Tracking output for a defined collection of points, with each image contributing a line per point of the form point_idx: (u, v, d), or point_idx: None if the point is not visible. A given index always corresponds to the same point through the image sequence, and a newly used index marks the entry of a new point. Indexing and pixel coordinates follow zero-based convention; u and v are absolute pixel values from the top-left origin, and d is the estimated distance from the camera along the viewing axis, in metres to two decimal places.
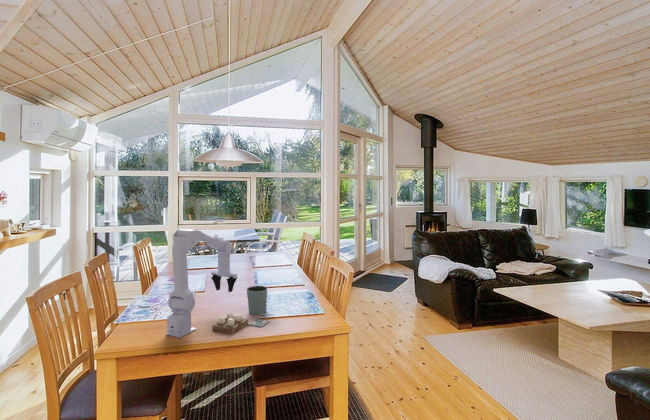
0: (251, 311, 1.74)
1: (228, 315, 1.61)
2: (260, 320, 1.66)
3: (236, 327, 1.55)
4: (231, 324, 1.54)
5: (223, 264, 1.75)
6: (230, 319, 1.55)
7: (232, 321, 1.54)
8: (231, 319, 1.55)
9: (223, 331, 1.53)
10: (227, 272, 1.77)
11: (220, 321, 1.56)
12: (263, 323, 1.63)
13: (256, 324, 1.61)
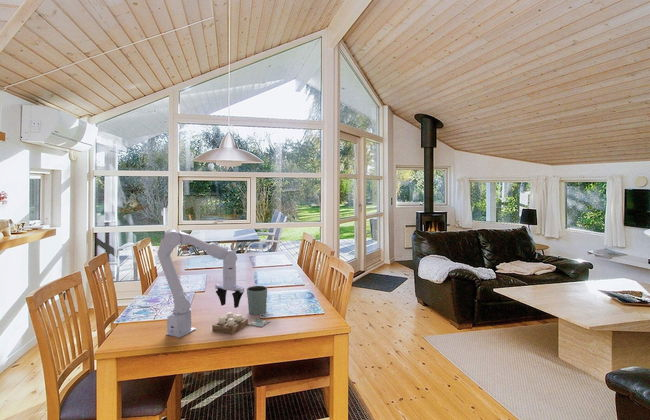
0: (251, 311, 1.74)
1: (228, 315, 1.61)
2: (260, 320, 1.66)
3: (236, 327, 1.55)
4: (231, 324, 1.54)
5: (224, 277, 1.58)
6: (230, 319, 1.55)
7: (232, 321, 1.54)
8: (231, 319, 1.55)
9: (223, 331, 1.53)
10: (233, 286, 1.59)
11: (220, 321, 1.56)
12: (263, 323, 1.63)
13: (256, 324, 1.61)
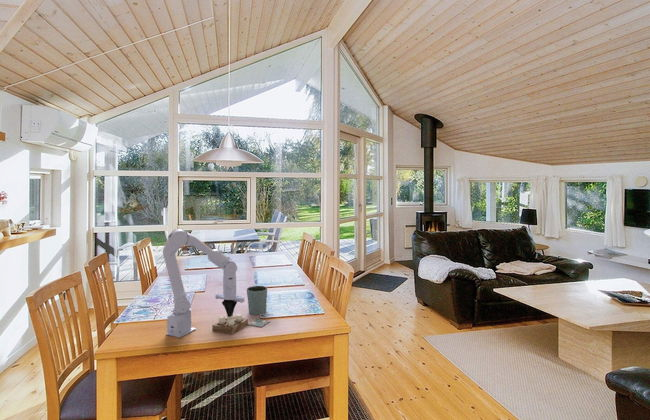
0: (251, 311, 1.74)
1: (228, 317, 1.61)
2: (260, 320, 1.66)
3: (236, 327, 1.55)
4: (231, 324, 1.54)
5: (224, 287, 1.59)
6: (230, 319, 1.55)
7: (232, 321, 1.54)
8: (231, 319, 1.55)
9: (223, 331, 1.53)
10: (233, 296, 1.60)
11: (220, 321, 1.56)
12: (263, 323, 1.63)
13: (256, 324, 1.61)
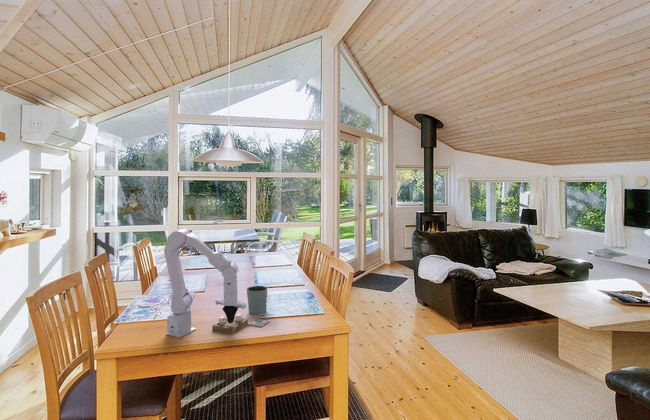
0: (251, 311, 1.74)
1: None
2: (260, 320, 1.66)
3: (236, 327, 1.55)
4: None
5: (224, 292, 1.52)
6: None
7: (232, 324, 1.54)
8: None
9: (223, 331, 1.53)
10: (234, 301, 1.53)
11: (220, 321, 1.56)
12: (263, 323, 1.63)
13: (256, 324, 1.61)
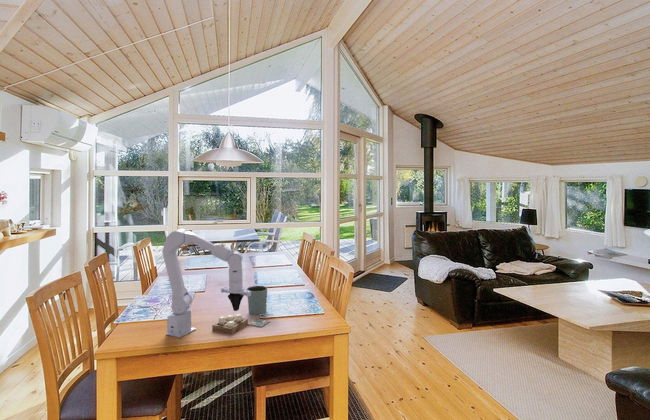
0: (251, 311, 1.74)
1: (228, 318, 1.61)
2: (260, 320, 1.66)
3: (236, 327, 1.55)
4: None
5: (229, 279, 1.54)
6: (230, 322, 1.55)
7: (232, 324, 1.54)
8: (231, 322, 1.55)
9: (223, 331, 1.53)
10: (239, 289, 1.54)
11: (220, 321, 1.56)
12: (263, 323, 1.63)
13: (256, 324, 1.61)
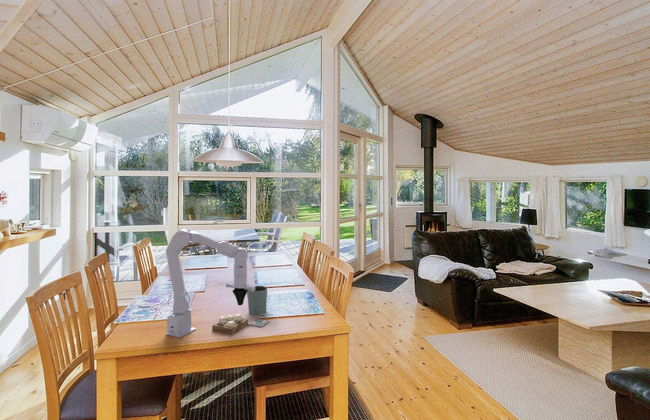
0: (251, 311, 1.74)
1: (228, 318, 1.61)
2: (260, 320, 1.66)
3: (236, 327, 1.55)
4: None
5: (235, 275, 1.58)
6: (230, 322, 1.55)
7: (232, 324, 1.54)
8: (231, 322, 1.55)
9: (223, 331, 1.53)
10: (244, 284, 1.58)
11: (220, 321, 1.56)
12: (263, 323, 1.63)
13: (256, 324, 1.61)
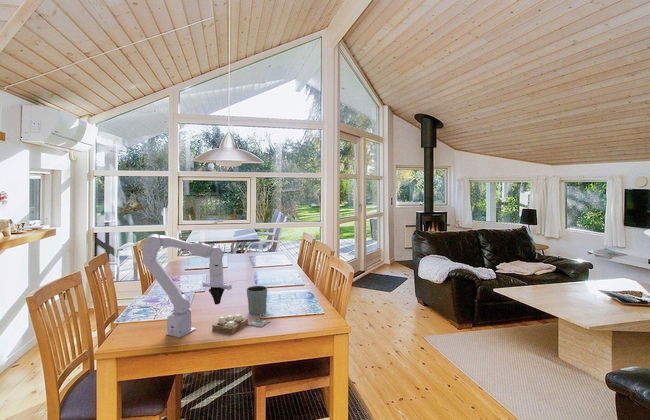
0: (251, 311, 1.74)
1: (228, 318, 1.61)
2: (260, 320, 1.66)
3: (236, 327, 1.55)
4: None
5: (211, 274, 1.55)
6: (230, 322, 1.55)
7: (232, 324, 1.54)
8: (231, 322, 1.55)
9: (223, 331, 1.53)
10: (220, 283, 1.56)
11: (220, 321, 1.56)
12: (263, 323, 1.63)
13: (256, 324, 1.61)
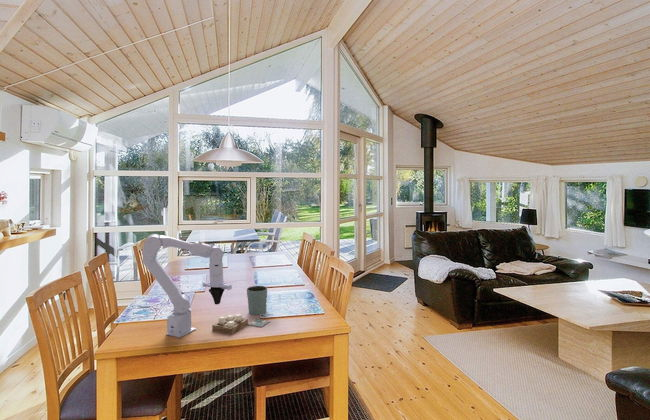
0: (251, 311, 1.74)
1: (228, 318, 1.61)
2: (260, 320, 1.66)
3: (236, 327, 1.55)
4: None
5: (211, 274, 1.55)
6: (230, 322, 1.55)
7: (232, 324, 1.54)
8: (231, 322, 1.55)
9: (223, 331, 1.53)
10: (220, 283, 1.56)
11: (220, 321, 1.56)
12: (263, 323, 1.63)
13: (256, 324, 1.61)
